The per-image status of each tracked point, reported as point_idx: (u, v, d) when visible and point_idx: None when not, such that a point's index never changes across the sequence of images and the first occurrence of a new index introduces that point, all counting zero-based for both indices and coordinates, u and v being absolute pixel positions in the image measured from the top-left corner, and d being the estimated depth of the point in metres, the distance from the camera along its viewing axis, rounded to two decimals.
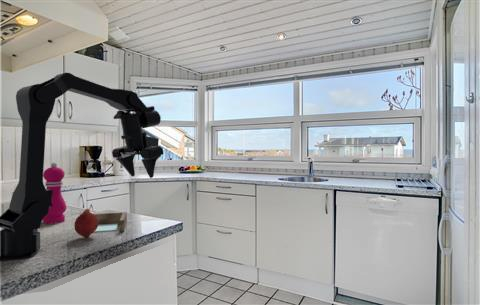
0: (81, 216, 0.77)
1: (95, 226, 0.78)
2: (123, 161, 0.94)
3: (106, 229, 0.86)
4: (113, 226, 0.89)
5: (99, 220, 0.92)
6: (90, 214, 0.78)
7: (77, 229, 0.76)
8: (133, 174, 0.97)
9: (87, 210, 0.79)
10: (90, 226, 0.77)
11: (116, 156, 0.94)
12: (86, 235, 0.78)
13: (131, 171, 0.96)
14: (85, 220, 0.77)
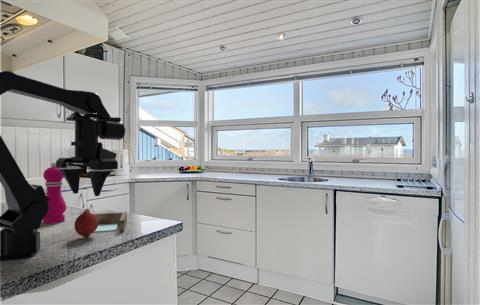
0: (81, 216, 0.77)
1: (95, 226, 0.78)
2: (67, 173, 0.79)
3: (106, 229, 0.86)
4: (113, 226, 0.89)
5: (99, 220, 0.92)
6: (90, 214, 0.78)
7: (77, 229, 0.76)
8: (76, 191, 0.81)
9: (87, 210, 0.79)
10: (90, 226, 0.77)
11: (60, 166, 0.79)
12: (86, 235, 0.78)
13: (74, 187, 0.80)
14: (85, 220, 0.77)
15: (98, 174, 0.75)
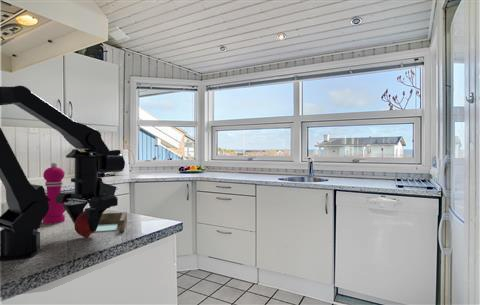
0: (81, 216, 0.77)
1: None
2: (70, 209, 0.78)
3: (106, 229, 0.86)
4: (113, 226, 0.89)
5: None
6: None
7: (77, 229, 0.76)
8: None
9: None
10: None
11: (60, 202, 0.79)
12: (86, 235, 0.78)
13: None
14: (85, 220, 0.77)
15: (94, 211, 0.76)
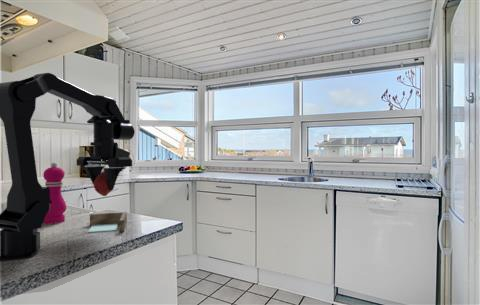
0: (100, 176, 0.86)
1: None
2: (90, 170, 0.87)
3: (106, 229, 0.86)
4: (113, 226, 0.89)
5: (99, 220, 0.92)
6: None
7: (96, 187, 0.85)
8: None
9: None
10: None
11: (80, 164, 0.88)
12: (104, 193, 0.87)
13: None
14: (103, 179, 0.86)
15: (111, 171, 0.85)
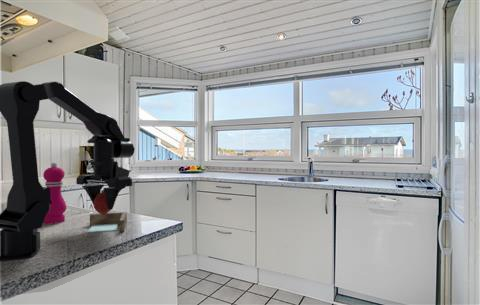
0: (99, 195, 0.86)
1: None
2: (89, 189, 0.88)
3: (106, 229, 0.86)
4: (113, 226, 0.89)
5: (99, 220, 0.92)
6: None
7: (96, 207, 0.85)
8: None
9: None
10: None
11: (80, 183, 0.88)
12: (104, 212, 0.87)
13: None
14: (103, 199, 0.86)
15: (111, 190, 0.86)
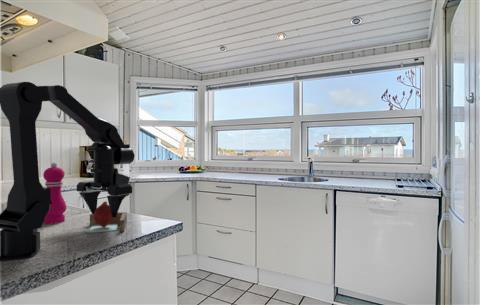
0: (100, 208, 0.86)
1: (112, 217, 0.88)
2: (86, 196, 0.88)
3: (106, 229, 0.86)
4: (113, 226, 0.89)
5: None
6: (108, 206, 0.88)
7: (96, 219, 0.85)
8: None
9: (105, 203, 0.88)
10: (108, 217, 0.86)
11: (80, 190, 0.88)
12: (104, 225, 0.87)
13: (93, 208, 0.90)
14: (103, 212, 0.86)
15: (115, 198, 0.85)
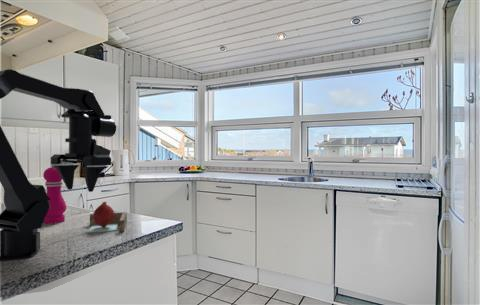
0: (99, 208, 0.86)
1: (112, 217, 0.88)
2: (61, 169, 0.80)
3: (106, 229, 0.86)
4: (113, 226, 0.89)
5: None
6: (107, 206, 0.88)
7: (96, 219, 0.85)
8: (70, 187, 0.82)
9: (104, 203, 0.88)
10: (108, 216, 0.86)
11: (54, 162, 0.80)
12: (104, 225, 0.87)
13: (69, 183, 0.82)
14: (103, 211, 0.86)
15: (92, 170, 0.77)
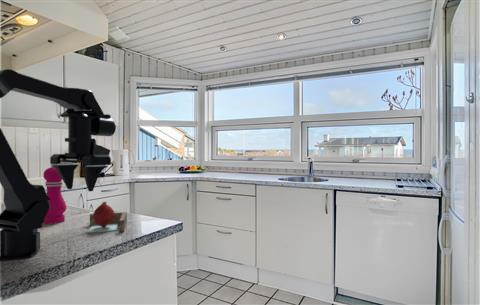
0: (99, 208, 0.86)
1: (112, 217, 0.88)
2: (61, 169, 0.80)
3: (106, 229, 0.86)
4: (113, 226, 0.89)
5: None
6: (107, 206, 0.88)
7: (96, 219, 0.85)
8: (70, 187, 0.82)
9: (104, 203, 0.88)
10: (108, 216, 0.86)
11: (54, 162, 0.80)
12: (104, 225, 0.87)
13: (68, 183, 0.82)
14: (103, 211, 0.86)
15: (91, 170, 0.77)
